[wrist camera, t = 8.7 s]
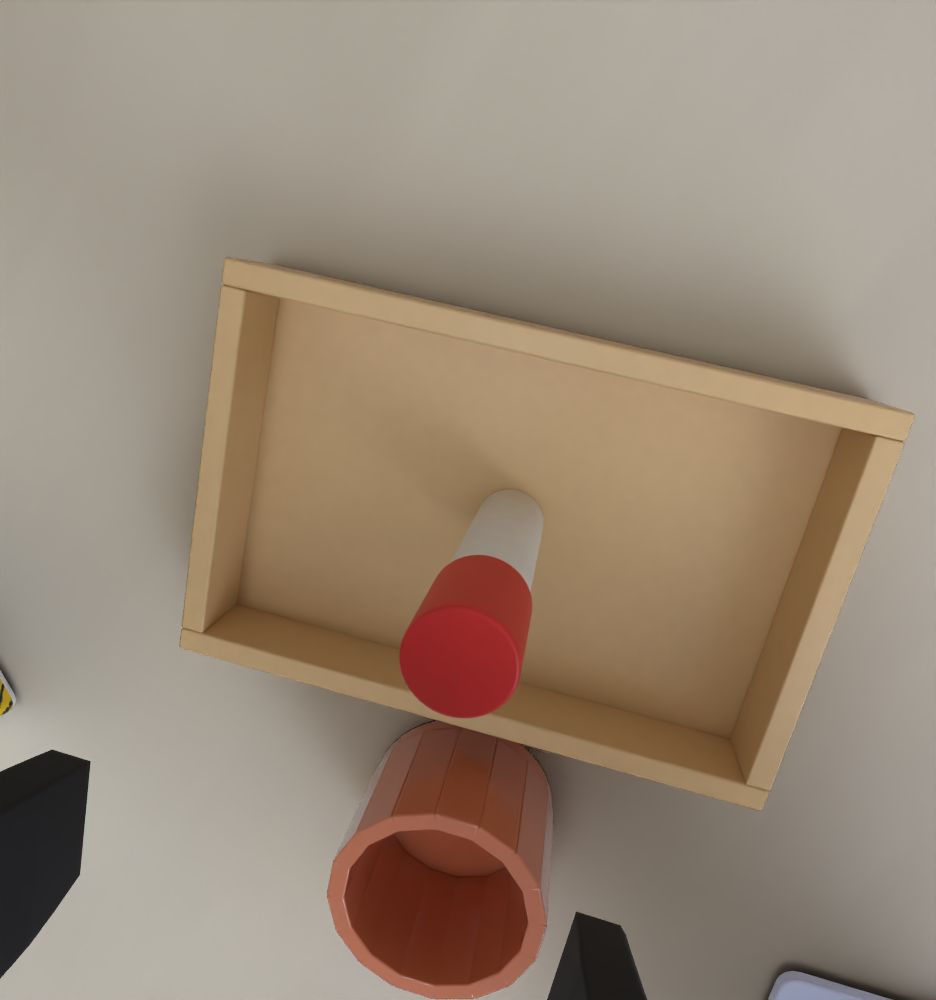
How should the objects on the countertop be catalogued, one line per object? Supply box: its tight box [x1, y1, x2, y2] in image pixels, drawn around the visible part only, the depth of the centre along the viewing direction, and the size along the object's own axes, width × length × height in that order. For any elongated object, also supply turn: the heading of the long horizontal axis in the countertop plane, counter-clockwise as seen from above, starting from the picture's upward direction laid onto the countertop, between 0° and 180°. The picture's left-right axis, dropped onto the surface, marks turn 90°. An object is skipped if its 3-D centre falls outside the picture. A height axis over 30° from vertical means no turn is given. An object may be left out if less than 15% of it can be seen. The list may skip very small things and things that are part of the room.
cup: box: [327, 721, 554, 999], centre depth 20 cm, size 5×5×4 cm
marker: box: [399, 489, 544, 718], centre depth 15 cm, size 2×2×8 cm
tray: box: [180, 258, 915, 811], centre depth 18 cm, size 10×15×2 cm, turn 78°
